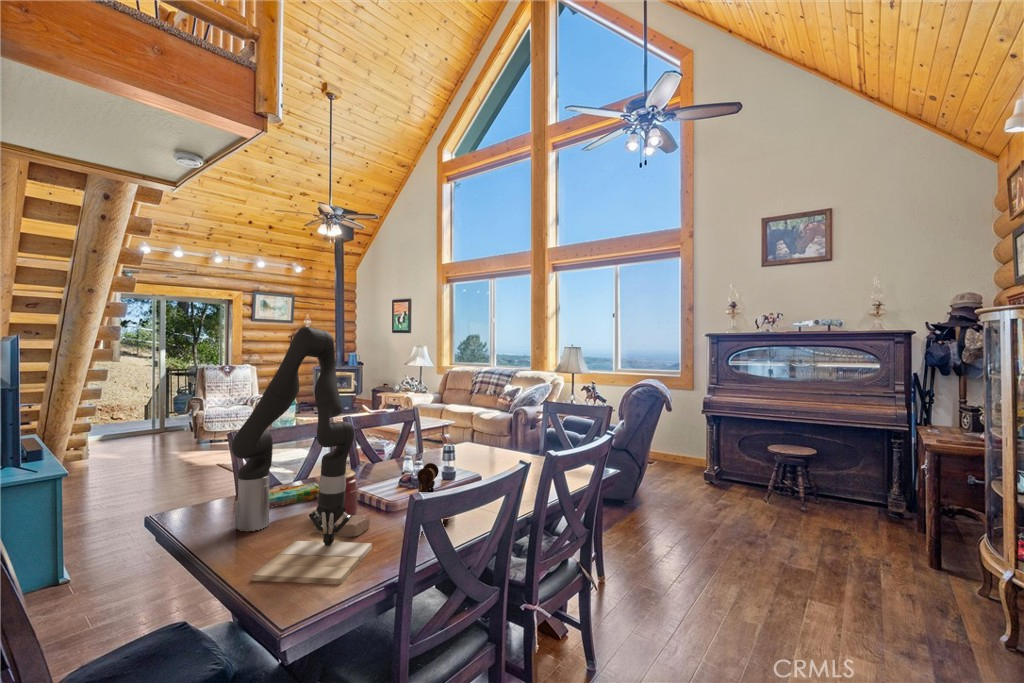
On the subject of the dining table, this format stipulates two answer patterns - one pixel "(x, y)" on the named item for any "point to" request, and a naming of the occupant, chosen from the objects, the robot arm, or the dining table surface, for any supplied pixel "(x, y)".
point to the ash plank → (328, 549)
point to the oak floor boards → (307, 569)
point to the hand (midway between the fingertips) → (328, 544)
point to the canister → (351, 493)
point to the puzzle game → (293, 494)
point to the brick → (351, 526)
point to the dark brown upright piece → (428, 479)
